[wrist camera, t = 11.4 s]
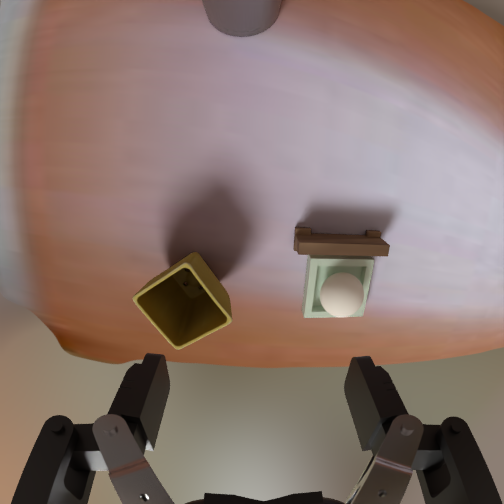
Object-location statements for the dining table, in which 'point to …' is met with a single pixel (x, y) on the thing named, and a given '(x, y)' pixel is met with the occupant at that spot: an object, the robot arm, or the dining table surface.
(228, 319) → the flower pot
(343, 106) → the dining table surface
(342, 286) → the ball
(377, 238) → the rail
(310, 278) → the dish
